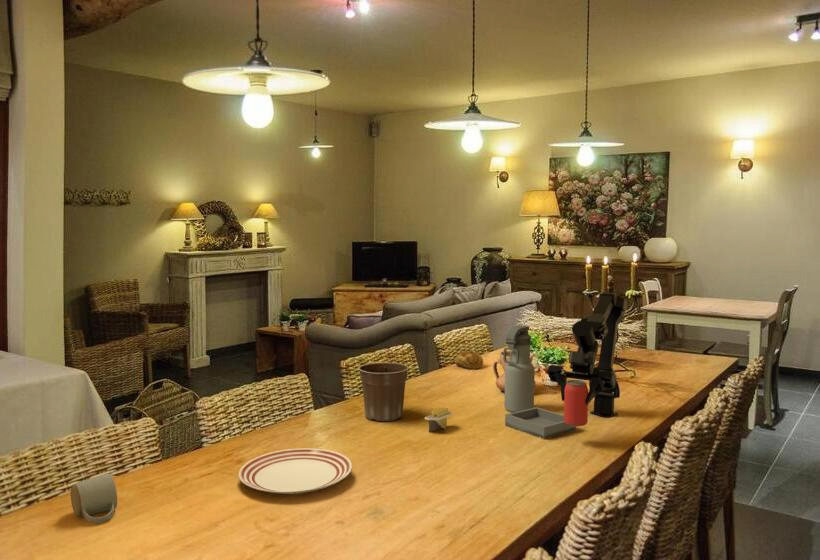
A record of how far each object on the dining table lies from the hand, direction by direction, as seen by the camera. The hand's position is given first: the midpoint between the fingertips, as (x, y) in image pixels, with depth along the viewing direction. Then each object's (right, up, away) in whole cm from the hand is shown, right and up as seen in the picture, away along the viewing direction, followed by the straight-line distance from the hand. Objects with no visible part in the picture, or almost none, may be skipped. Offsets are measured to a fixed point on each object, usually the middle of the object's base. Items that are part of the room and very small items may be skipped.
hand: (574, 401), depth 194 cm
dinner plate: (-75, -15, -25) cm, 80 cm away
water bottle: (-10, -9, +36) cm, 38 cm away
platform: (-38, -11, +14) cm, 42 cm away
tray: (-7, -11, +16) cm, 20 cm away
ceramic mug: (-114, -16, -45) cm, 124 cm away
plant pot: (-55, -10, +27) cm, 62 cm away
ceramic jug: (-8, -7, +59) cm, 60 cm away
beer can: (+1, -7, +2) cm, 7 cm away
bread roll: (-22, -3, +99) cm, 102 cm away
